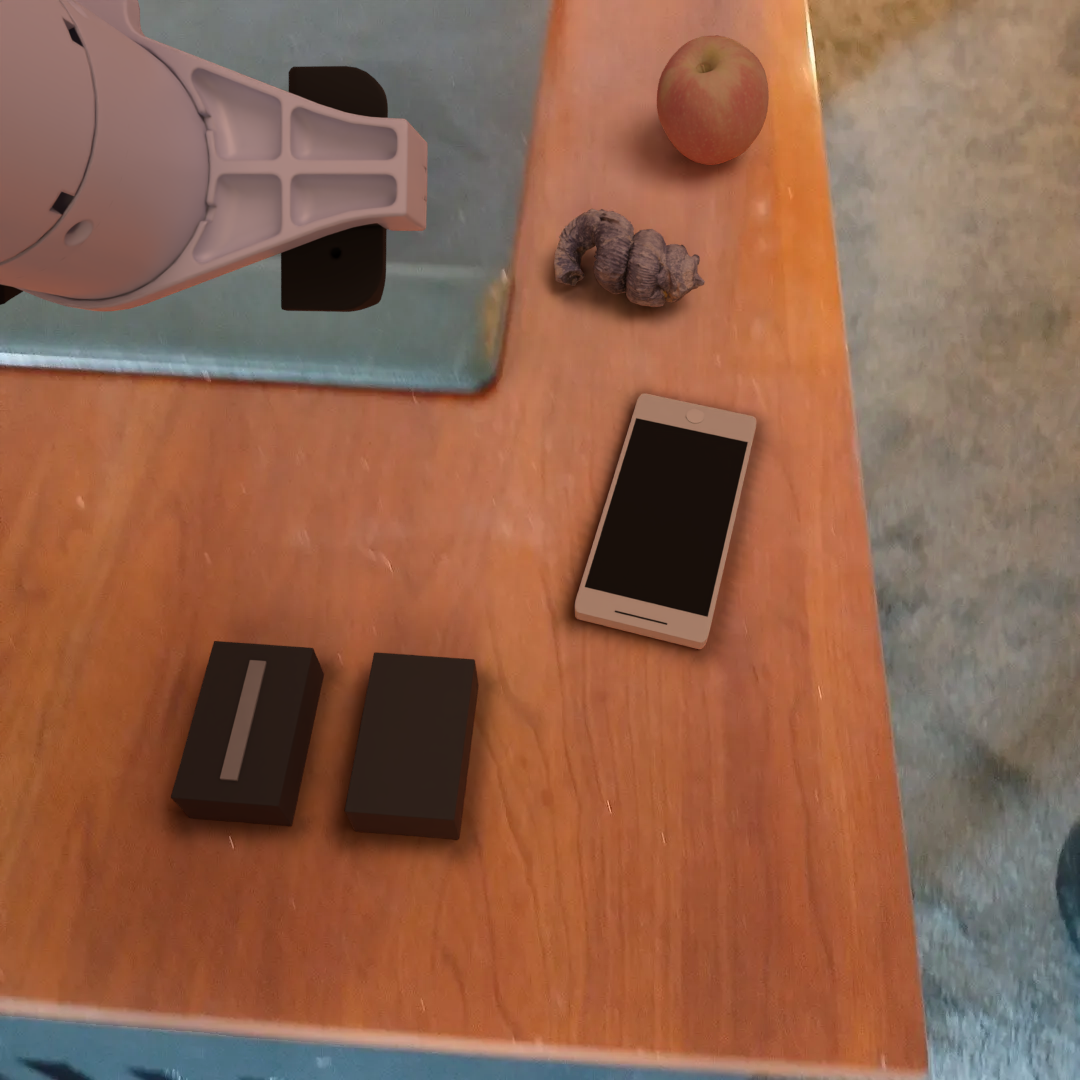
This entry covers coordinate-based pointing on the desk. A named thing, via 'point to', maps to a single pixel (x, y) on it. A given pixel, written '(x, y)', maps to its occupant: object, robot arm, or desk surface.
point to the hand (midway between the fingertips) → (249, 236)
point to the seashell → (626, 259)
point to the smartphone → (667, 521)
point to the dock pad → (250, 734)
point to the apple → (712, 99)
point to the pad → (413, 746)
